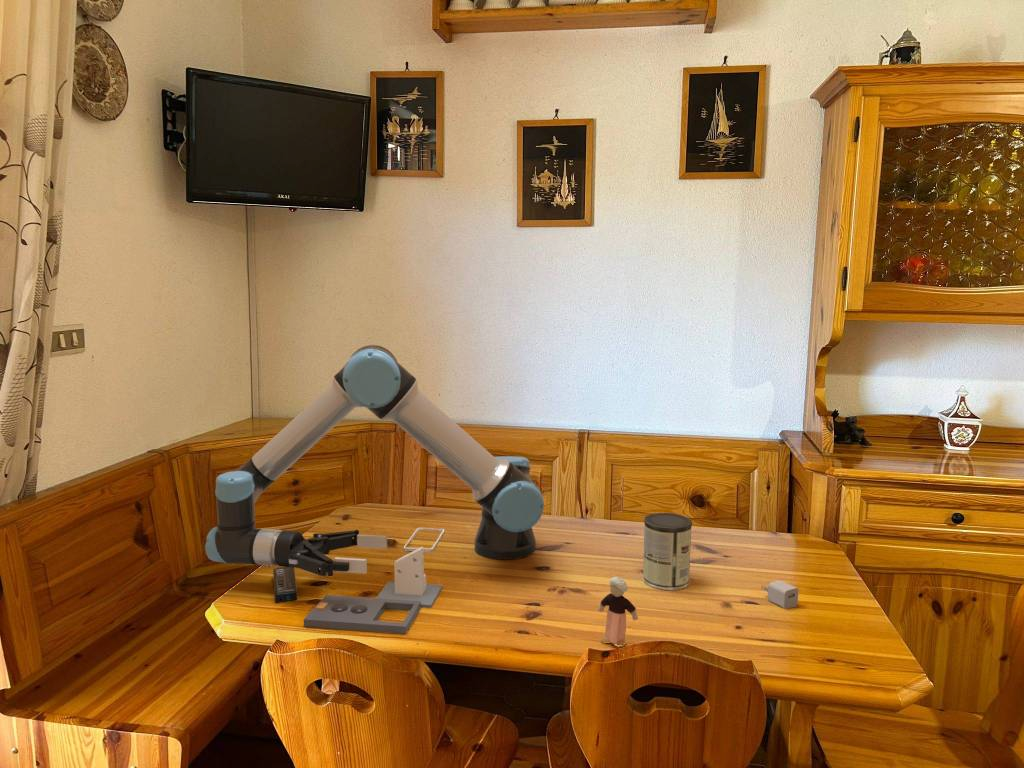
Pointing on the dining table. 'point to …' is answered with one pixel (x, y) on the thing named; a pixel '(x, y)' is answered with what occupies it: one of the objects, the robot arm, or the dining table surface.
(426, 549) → the phone case
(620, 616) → the grandmother figurine
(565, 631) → the dining table surface
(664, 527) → the coffee can
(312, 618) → the grey control panel
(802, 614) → the dining table surface
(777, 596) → the usb wall charger
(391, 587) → the rubber mat
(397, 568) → the white wedge bracket
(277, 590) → the multiport hub
